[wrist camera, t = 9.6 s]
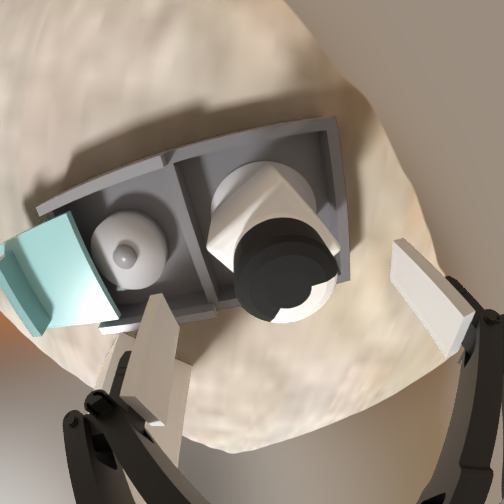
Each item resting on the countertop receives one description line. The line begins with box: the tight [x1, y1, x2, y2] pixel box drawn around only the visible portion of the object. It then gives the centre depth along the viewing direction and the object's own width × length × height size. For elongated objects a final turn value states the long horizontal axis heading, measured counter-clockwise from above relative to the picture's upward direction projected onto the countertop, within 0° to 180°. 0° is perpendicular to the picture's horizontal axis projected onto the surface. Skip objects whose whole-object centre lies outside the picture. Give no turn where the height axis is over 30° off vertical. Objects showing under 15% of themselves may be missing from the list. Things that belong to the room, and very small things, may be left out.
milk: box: [88, 332, 192, 504], centre depth 25 cm, size 12×12×26 cm
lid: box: [0, 211, 121, 337], centre depth 22 cm, size 12×13×4 cm
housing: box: [36, 117, 350, 334], centre depth 25 cm, size 16×28×5 cm, turn 102°
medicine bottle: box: [207, 163, 341, 323], centre depth 20 cm, size 7×7×12 cm
